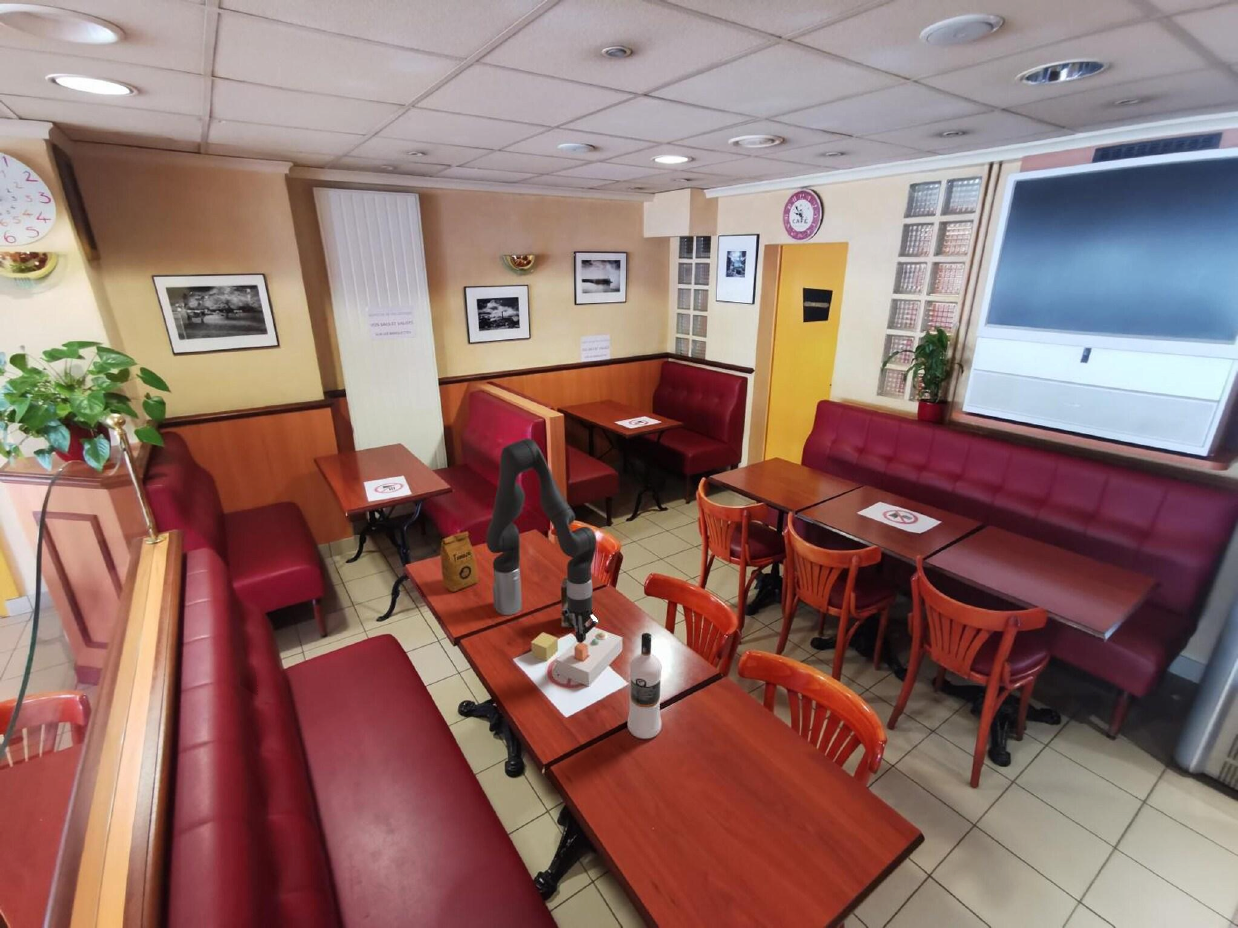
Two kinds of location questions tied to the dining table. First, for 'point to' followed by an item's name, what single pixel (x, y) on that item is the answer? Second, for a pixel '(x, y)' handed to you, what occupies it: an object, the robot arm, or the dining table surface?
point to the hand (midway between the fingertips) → (581, 641)
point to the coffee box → (564, 601)
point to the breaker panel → (590, 657)
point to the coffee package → (458, 562)
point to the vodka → (645, 692)
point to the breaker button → (581, 652)
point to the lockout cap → (544, 646)
